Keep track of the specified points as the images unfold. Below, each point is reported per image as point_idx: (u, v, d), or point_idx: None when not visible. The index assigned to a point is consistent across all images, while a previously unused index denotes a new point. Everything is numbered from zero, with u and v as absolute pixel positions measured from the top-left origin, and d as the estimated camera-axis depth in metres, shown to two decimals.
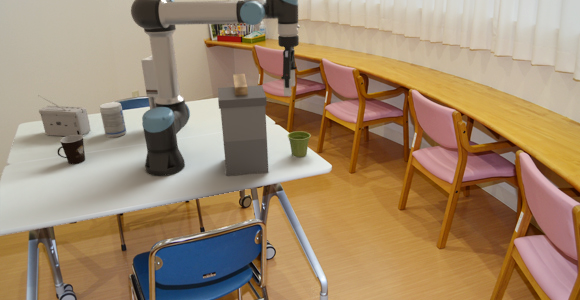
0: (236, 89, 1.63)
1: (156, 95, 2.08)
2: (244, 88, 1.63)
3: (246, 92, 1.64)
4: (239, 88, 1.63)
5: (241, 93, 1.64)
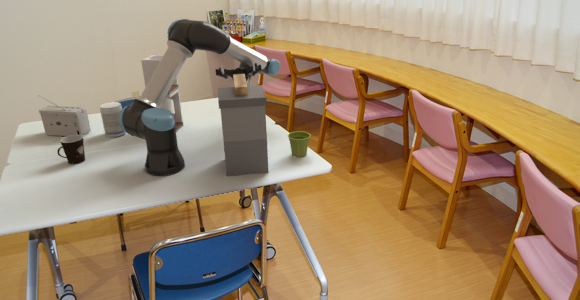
0: (236, 89, 1.63)
1: None
2: (244, 88, 1.63)
3: (246, 92, 1.64)
4: (239, 88, 1.63)
5: (241, 93, 1.64)
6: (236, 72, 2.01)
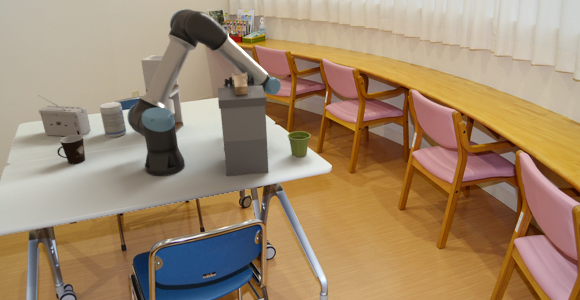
0: (236, 89, 1.63)
1: None
2: (244, 88, 1.63)
3: (246, 92, 1.64)
4: (239, 88, 1.63)
5: (241, 93, 1.64)
6: None
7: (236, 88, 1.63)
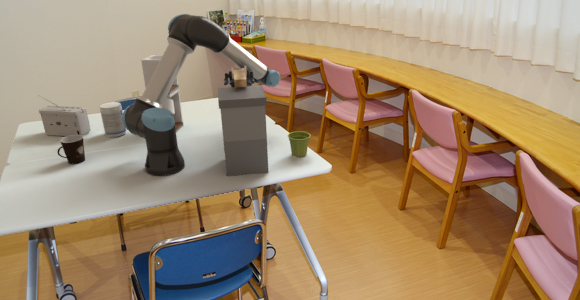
0: (235, 81, 1.70)
1: None
2: (243, 80, 1.70)
3: (245, 84, 1.71)
4: (238, 80, 1.70)
5: (240, 85, 1.71)
6: None
7: (235, 81, 1.70)
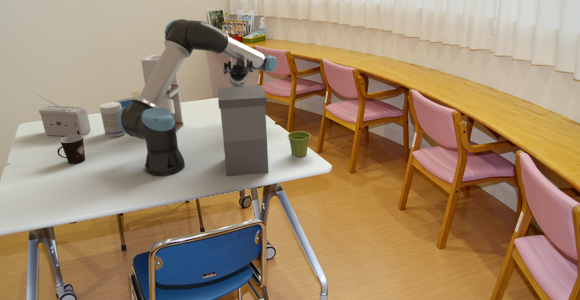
0: None
1: None
2: None
3: None
4: None
5: None
6: (235, 68, 2.02)
7: None
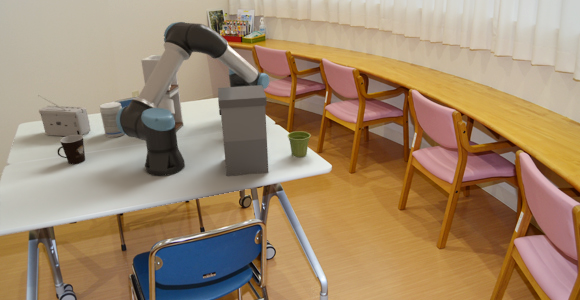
0: None
1: None
2: None
3: None
4: None
5: None
6: None
7: None
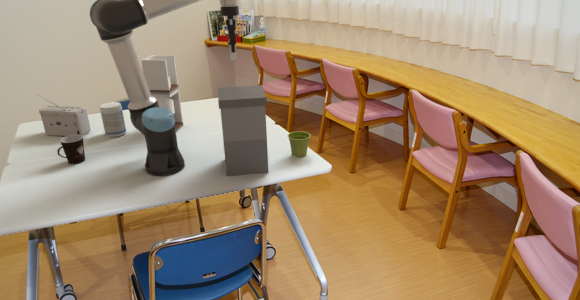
0: None
1: (156, 95, 2.08)
2: None
3: None
4: None
5: None
6: None
7: None
